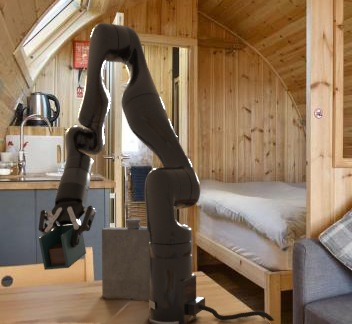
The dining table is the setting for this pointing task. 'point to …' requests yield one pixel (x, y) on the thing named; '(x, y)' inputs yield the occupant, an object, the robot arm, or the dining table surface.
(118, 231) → the hip flask
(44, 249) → the teal open box
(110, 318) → the dining table surface
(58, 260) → the walnut block
